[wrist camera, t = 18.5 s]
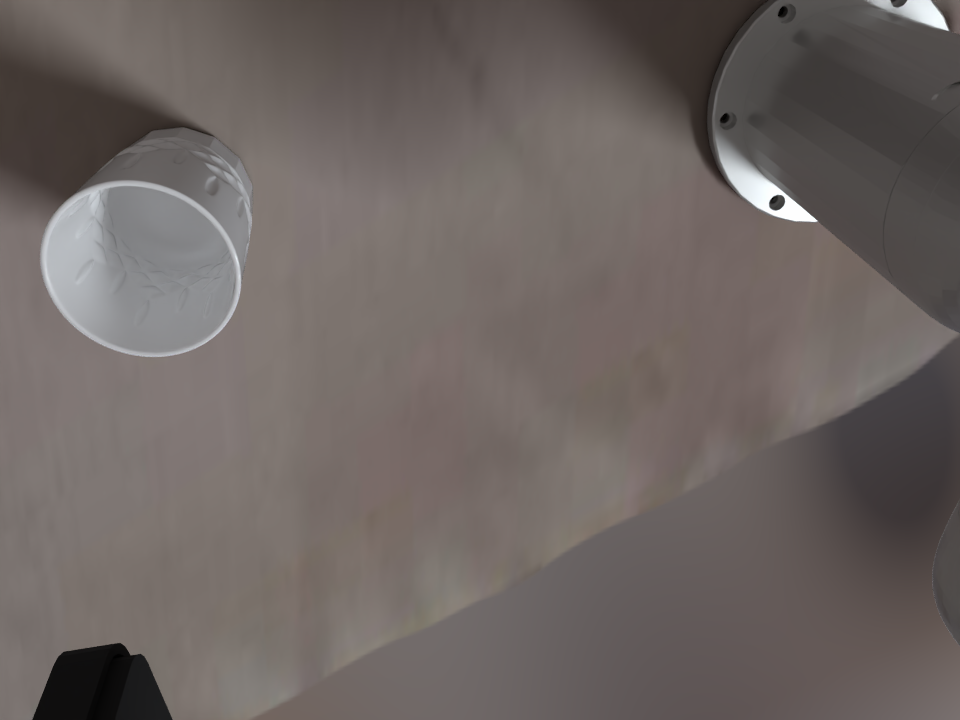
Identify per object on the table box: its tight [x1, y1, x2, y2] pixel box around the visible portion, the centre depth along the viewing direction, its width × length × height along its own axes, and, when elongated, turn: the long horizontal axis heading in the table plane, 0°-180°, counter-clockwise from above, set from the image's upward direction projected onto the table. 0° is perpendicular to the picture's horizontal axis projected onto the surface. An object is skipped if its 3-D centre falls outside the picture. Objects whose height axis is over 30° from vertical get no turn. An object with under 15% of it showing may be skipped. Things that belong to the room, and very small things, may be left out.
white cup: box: [40, 127, 253, 357], centre depth 41 cm, size 8×8×10 cm
